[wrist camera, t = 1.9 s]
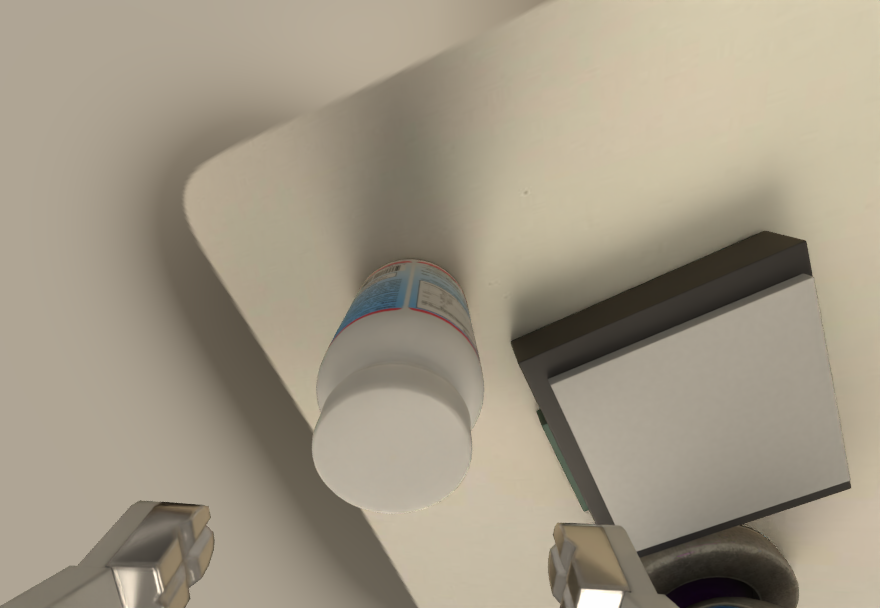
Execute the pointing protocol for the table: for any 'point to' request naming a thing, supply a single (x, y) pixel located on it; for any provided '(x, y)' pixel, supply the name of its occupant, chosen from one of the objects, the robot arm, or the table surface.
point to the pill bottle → (399, 392)
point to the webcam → (724, 572)
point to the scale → (694, 396)
